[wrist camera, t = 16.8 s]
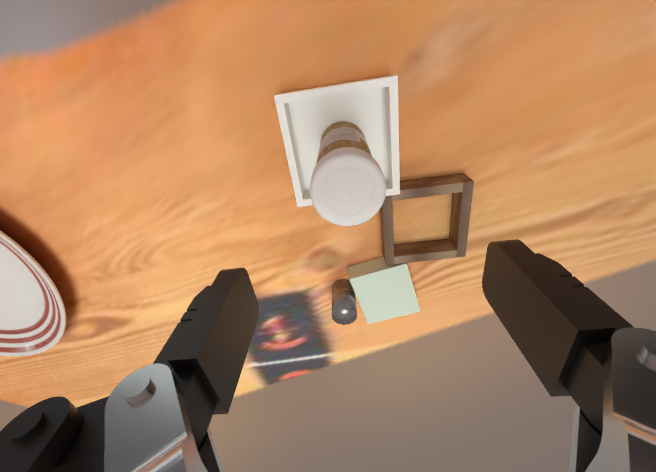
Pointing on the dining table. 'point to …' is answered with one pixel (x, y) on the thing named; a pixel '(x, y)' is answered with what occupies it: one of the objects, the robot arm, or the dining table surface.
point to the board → (383, 289)
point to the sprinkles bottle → (346, 177)
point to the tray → (334, 106)
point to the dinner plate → (27, 303)
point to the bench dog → (343, 302)
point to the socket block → (458, 224)
